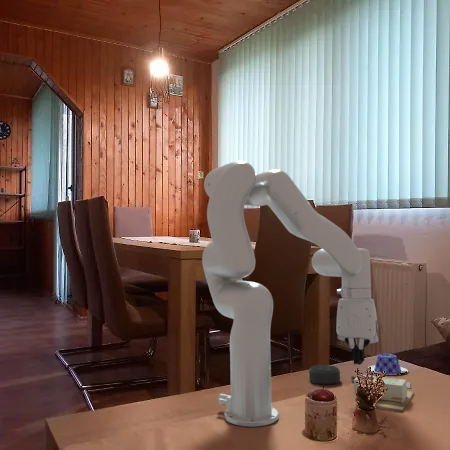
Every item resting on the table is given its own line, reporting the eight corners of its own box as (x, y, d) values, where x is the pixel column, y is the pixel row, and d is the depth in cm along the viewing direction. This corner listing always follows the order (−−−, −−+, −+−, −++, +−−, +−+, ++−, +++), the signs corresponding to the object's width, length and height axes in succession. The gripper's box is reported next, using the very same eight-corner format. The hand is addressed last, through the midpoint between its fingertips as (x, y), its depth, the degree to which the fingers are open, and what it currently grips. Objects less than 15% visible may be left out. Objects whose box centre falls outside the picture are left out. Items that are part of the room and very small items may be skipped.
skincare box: (353, 396, 123) (402, 403, 117) (353, 379, 124) (402, 385, 117) (360, 389, 129) (407, 396, 122) (360, 373, 129) (407, 379, 123)
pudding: (390, 379, 142) (390, 361, 142) (359, 370, 152) (359, 354, 152) (416, 373, 148) (415, 356, 148) (384, 365, 158) (384, 349, 159)
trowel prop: (350, 383, 137) (350, 377, 137) (352, 379, 141) (352, 373, 141) (410, 388, 131) (410, 382, 131) (410, 383, 136) (410, 377, 136)
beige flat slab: (356, 405, 118) (356, 402, 118) (371, 388, 132) (371, 386, 132) (402, 412, 113) (402, 409, 113) (413, 393, 126) (413, 391, 126)
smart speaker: (303, 380, 141) (302, 367, 141) (324, 376, 146) (324, 362, 146) (324, 387, 134) (324, 373, 134) (346, 382, 139) (346, 368, 139)
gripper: (324, 294, 128) (326, 363, 127) (381, 296, 120) (383, 370, 119) (334, 292, 134) (335, 357, 133) (388, 294, 126) (390, 363, 125)
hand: (358, 363), depth 126 cm, fingers closed
